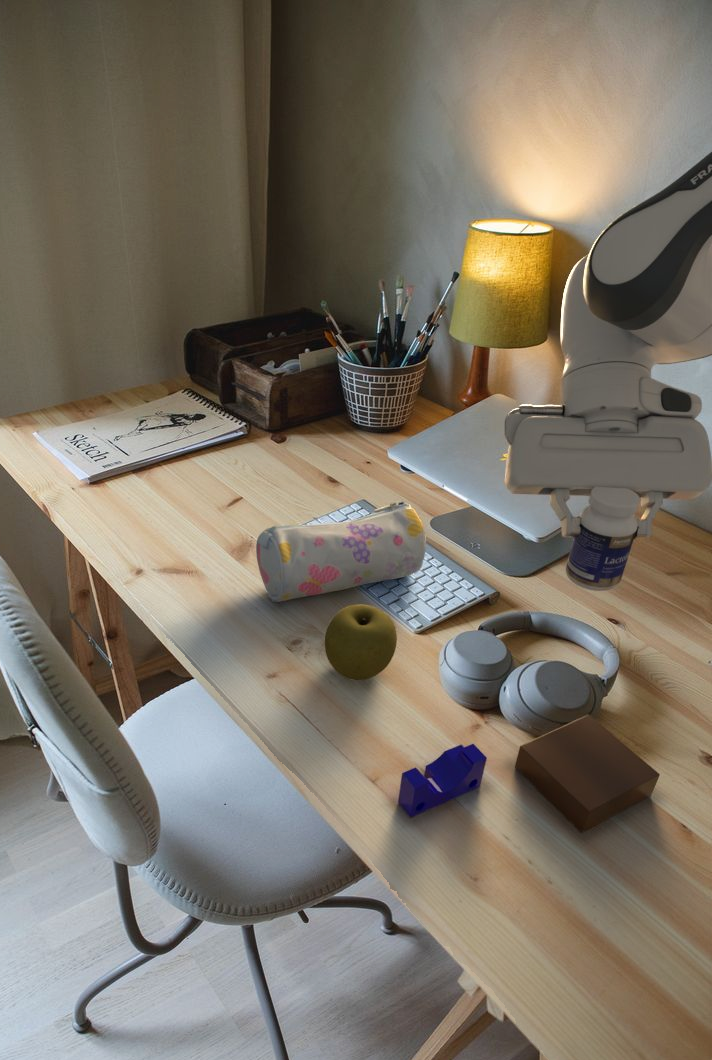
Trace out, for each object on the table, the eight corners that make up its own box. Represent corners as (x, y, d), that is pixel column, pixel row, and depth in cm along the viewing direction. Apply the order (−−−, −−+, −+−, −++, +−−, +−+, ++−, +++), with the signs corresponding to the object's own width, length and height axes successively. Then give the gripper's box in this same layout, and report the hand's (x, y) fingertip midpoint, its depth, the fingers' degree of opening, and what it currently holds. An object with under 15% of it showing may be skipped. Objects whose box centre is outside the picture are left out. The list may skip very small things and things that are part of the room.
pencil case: (396, 549, 111) (403, 486, 105) (429, 584, 105) (438, 519, 99) (250, 582, 104) (249, 516, 98) (276, 621, 98) (276, 553, 92)
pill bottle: (604, 600, 84) (629, 515, 78) (554, 578, 87) (575, 495, 81) (629, 577, 88) (655, 494, 82) (580, 556, 91) (601, 475, 85)
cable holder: (457, 762, 80) (463, 733, 78) (480, 786, 78) (486, 757, 76) (389, 791, 77) (392, 761, 75) (410, 817, 75) (414, 788, 72)
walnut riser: (581, 735, 84) (588, 714, 82) (651, 795, 78) (660, 774, 76) (514, 767, 80) (519, 745, 78) (581, 833, 74) (589, 811, 72)
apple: (407, 668, 91) (414, 617, 87) (359, 703, 87) (364, 651, 82) (356, 637, 96) (360, 587, 91) (308, 669, 91) (310, 617, 87)
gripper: (511, 391, 83) (510, 526, 81) (718, 398, 82) (721, 533, 80) (498, 415, 89) (497, 540, 87) (689, 421, 88) (692, 547, 87)
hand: (606, 537), depth 84 cm, fingers closed on pill bottle, 6 cm apart
